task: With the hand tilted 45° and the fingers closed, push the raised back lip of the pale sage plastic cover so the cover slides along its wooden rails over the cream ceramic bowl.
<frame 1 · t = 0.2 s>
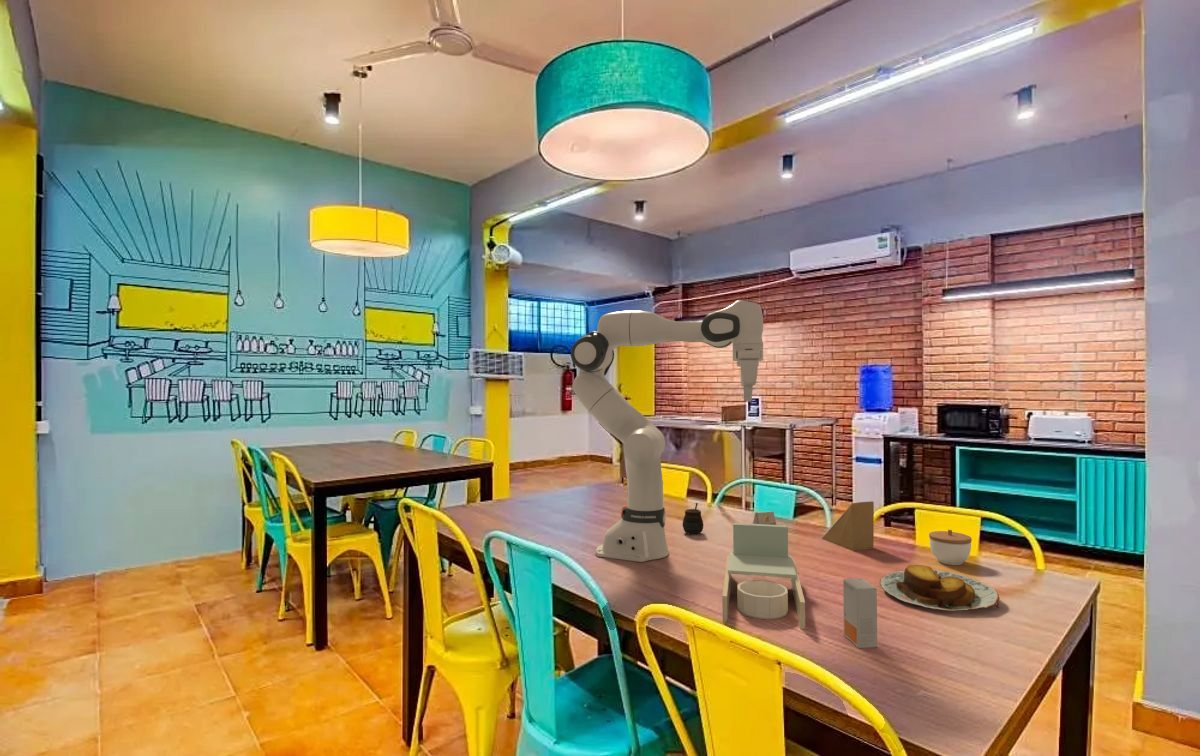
hand: (747, 401, 178), 47 cm above the table, tool pointing down, fingers open, 8 cm apart
tea bag: (764, 543, 197), on the table
mate gourd: (693, 533, 210), on the table
lidded jar: (950, 562, 175), on the table
food on plate: (937, 598, 148), on the table
bowl stand: (762, 609, 140), on the table
sandwich container: (846, 544, 196), on the table
skincare box: (860, 642, 122), on the table
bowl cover: (760, 548, 153), point 10 cm above the table, slide at 14.0 cm
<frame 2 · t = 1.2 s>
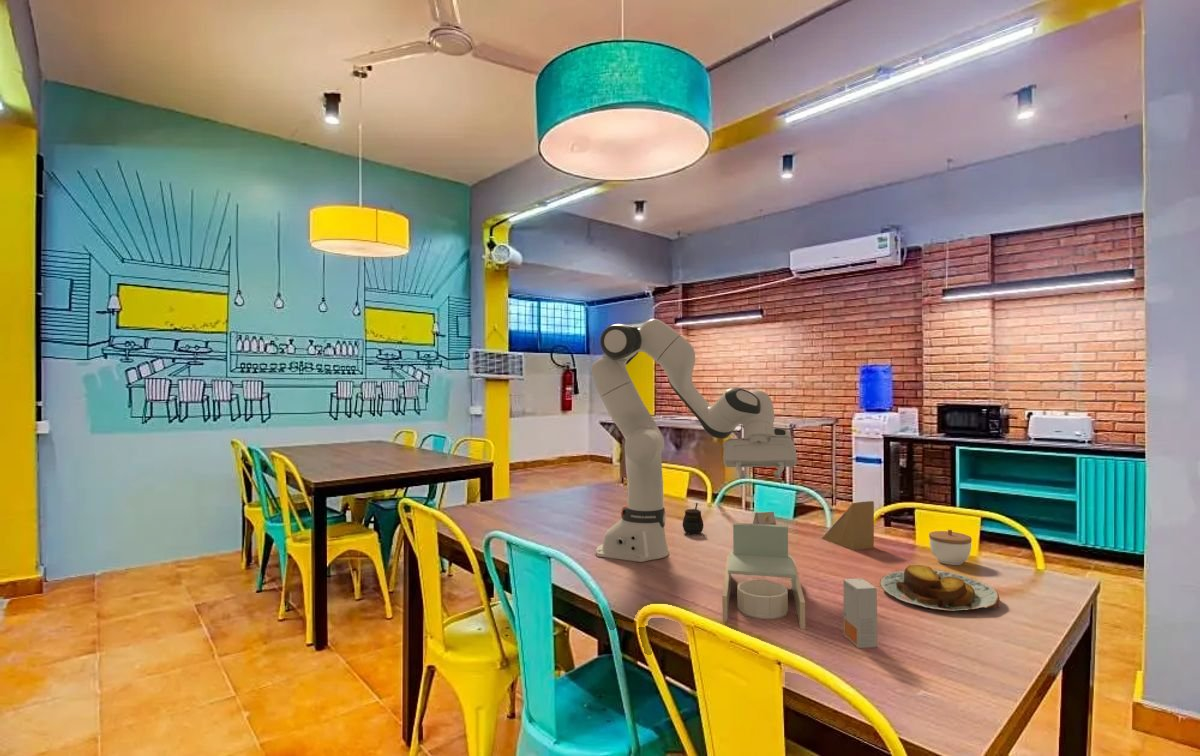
hand: (759, 477, 166), 26 cm above the table, tool tilted 45°, fingers open, 8 cm apart
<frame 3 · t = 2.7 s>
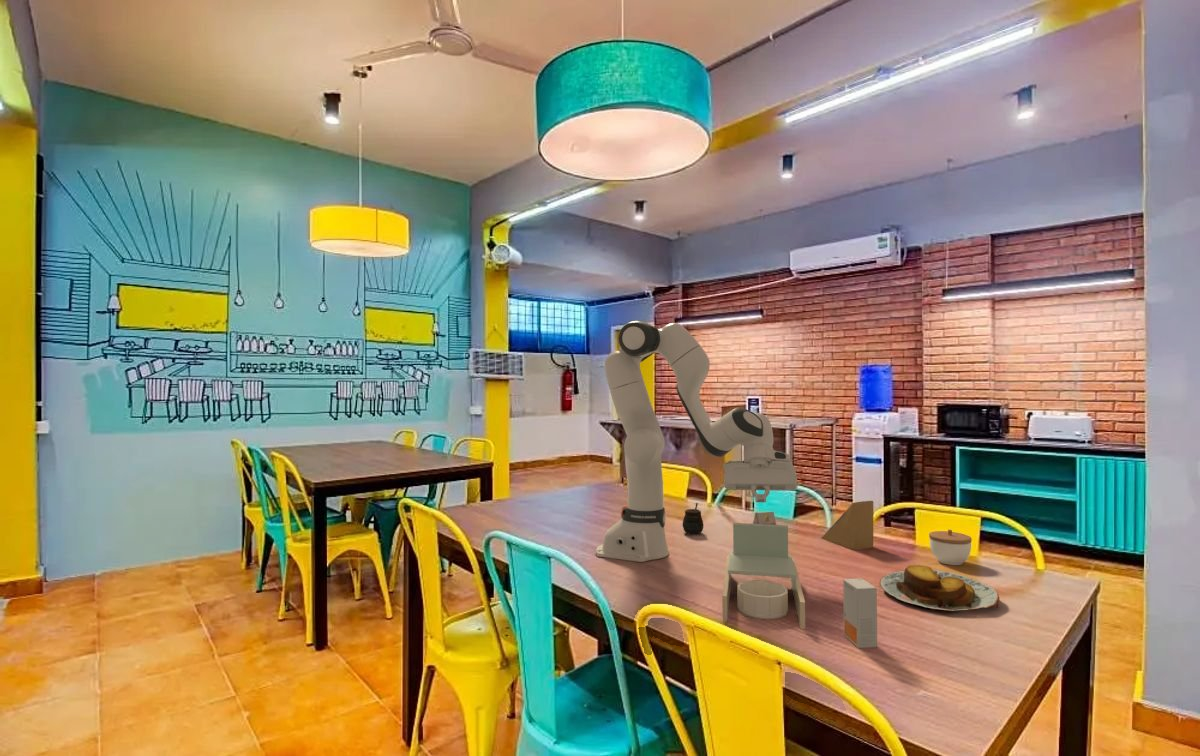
hand: (760, 501, 166), 20 cm above the table, tool tilted 45°, fingers closed
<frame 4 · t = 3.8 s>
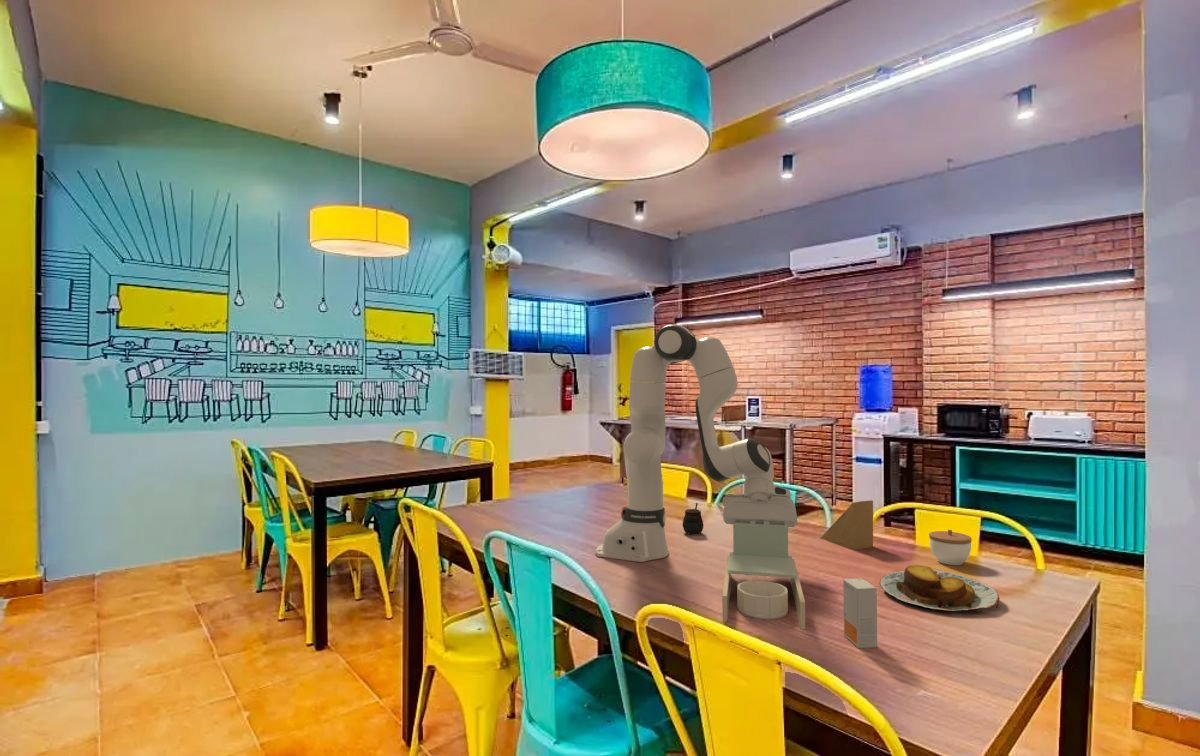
hand: (759, 537, 166), 10 cm above the table, tool tilted 45°, fingers closed
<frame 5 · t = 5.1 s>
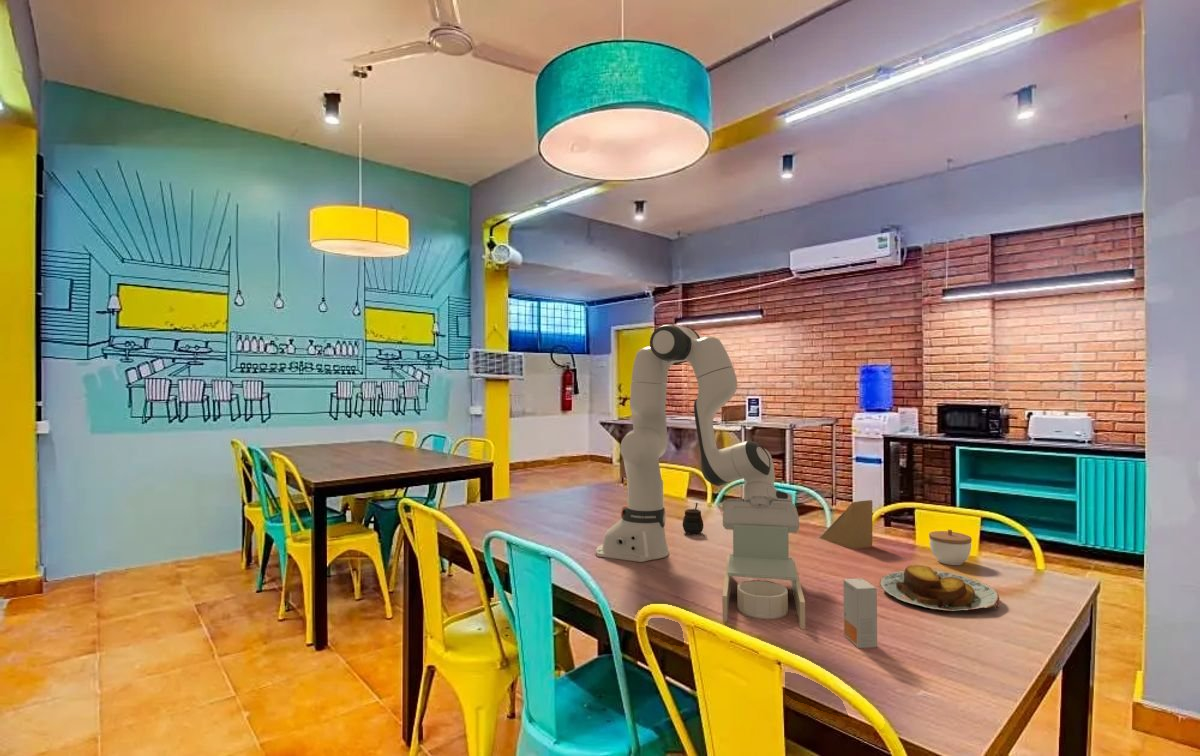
hand: (760, 543, 160), 10 cm above the table, tool tilted 45°, fingers closed, pressing on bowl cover
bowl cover: (761, 550, 151), point 10 cm above the table, slide at 12.1 cm, touching gripper
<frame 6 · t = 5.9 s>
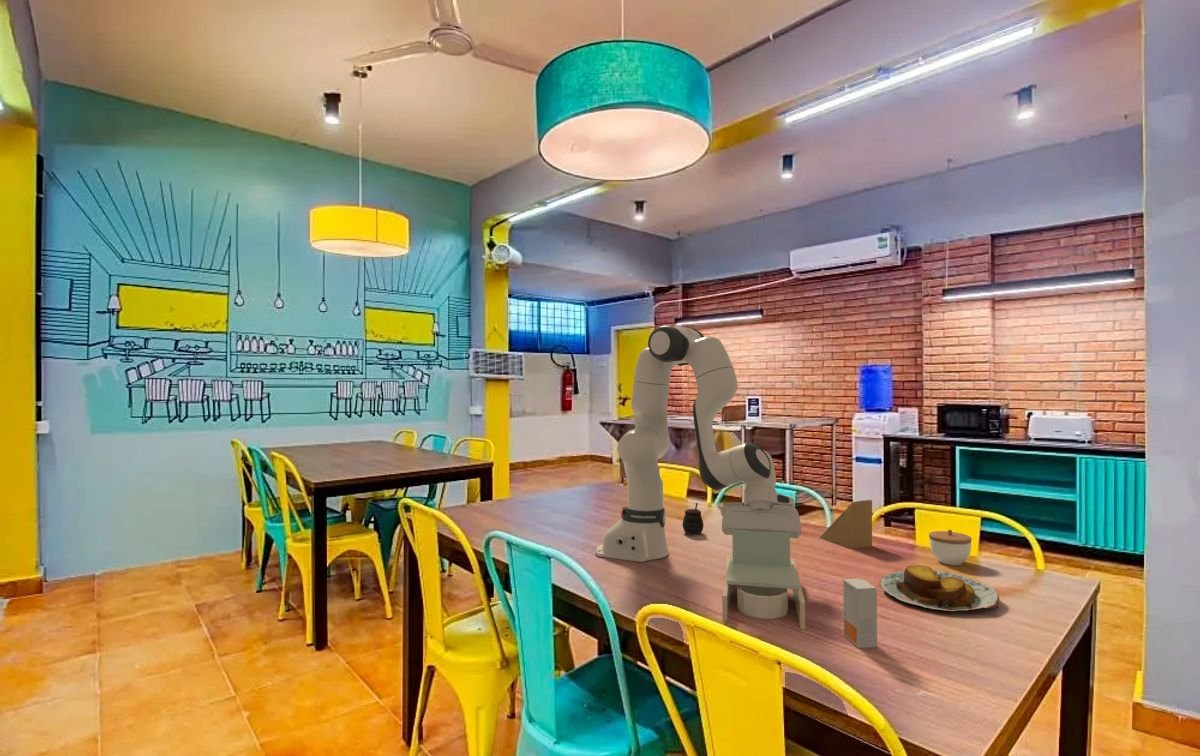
hand: (761, 549, 154), 10 cm above the table, tool tilted 45°, fingers closed, pressing on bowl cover
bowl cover: (761, 557, 146), point 10 cm above the table, slide at 6.2 cm, touching gripper
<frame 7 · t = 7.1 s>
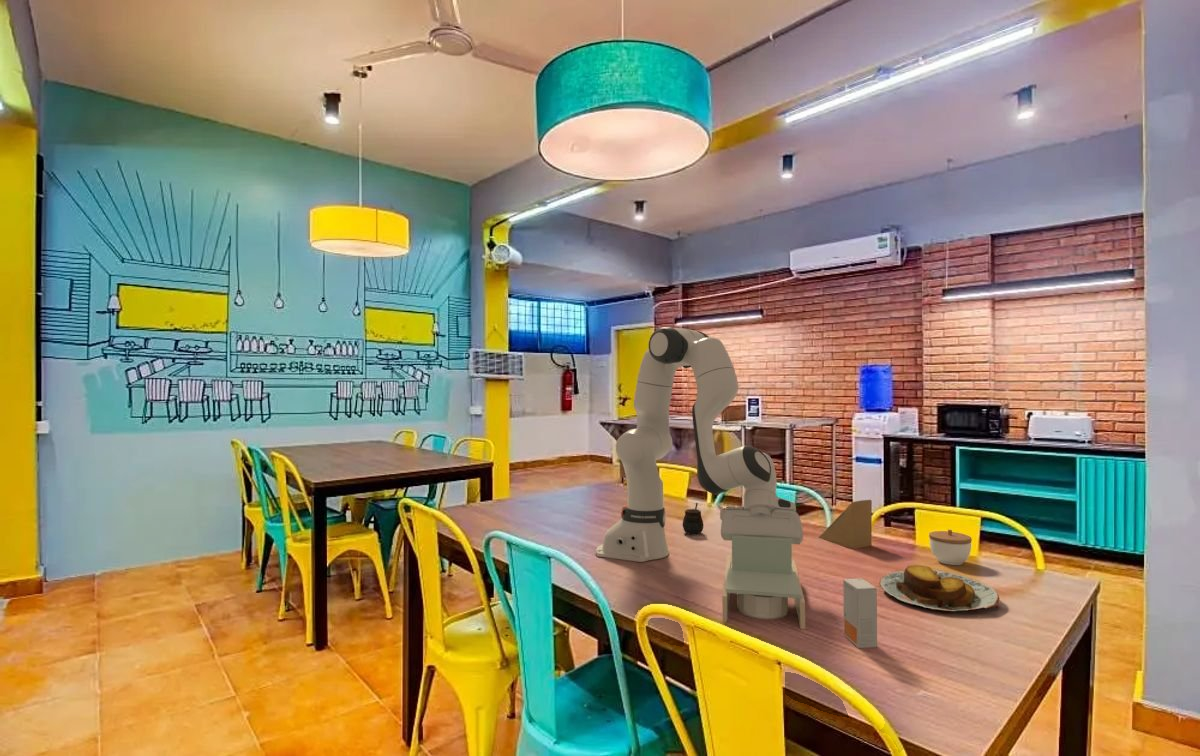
hand: (761, 556, 148), 10 cm above the table, tool tilted 45°, fingers closed, pressing on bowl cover
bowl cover: (761, 564, 140), point 10 cm above the table, slide at 0.4 cm, touching gripper
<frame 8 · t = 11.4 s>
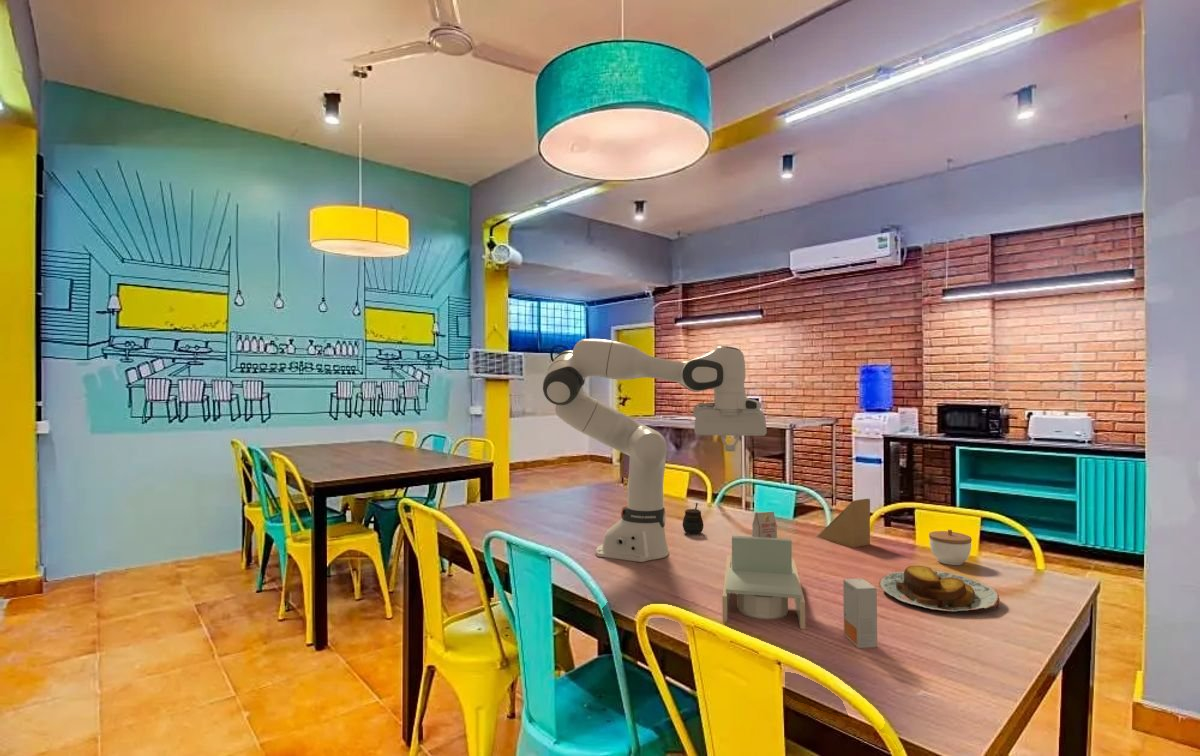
hand: (730, 451, 172), 33 cm above the table, tool pointing down, fingers closed
sandwich container: (842, 541, 200), on the table
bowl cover: (762, 564, 140), point 10 cm above the table, slide at 0.3 cm
everything else where it was.
at the end: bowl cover slide at 0.3 cm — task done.
